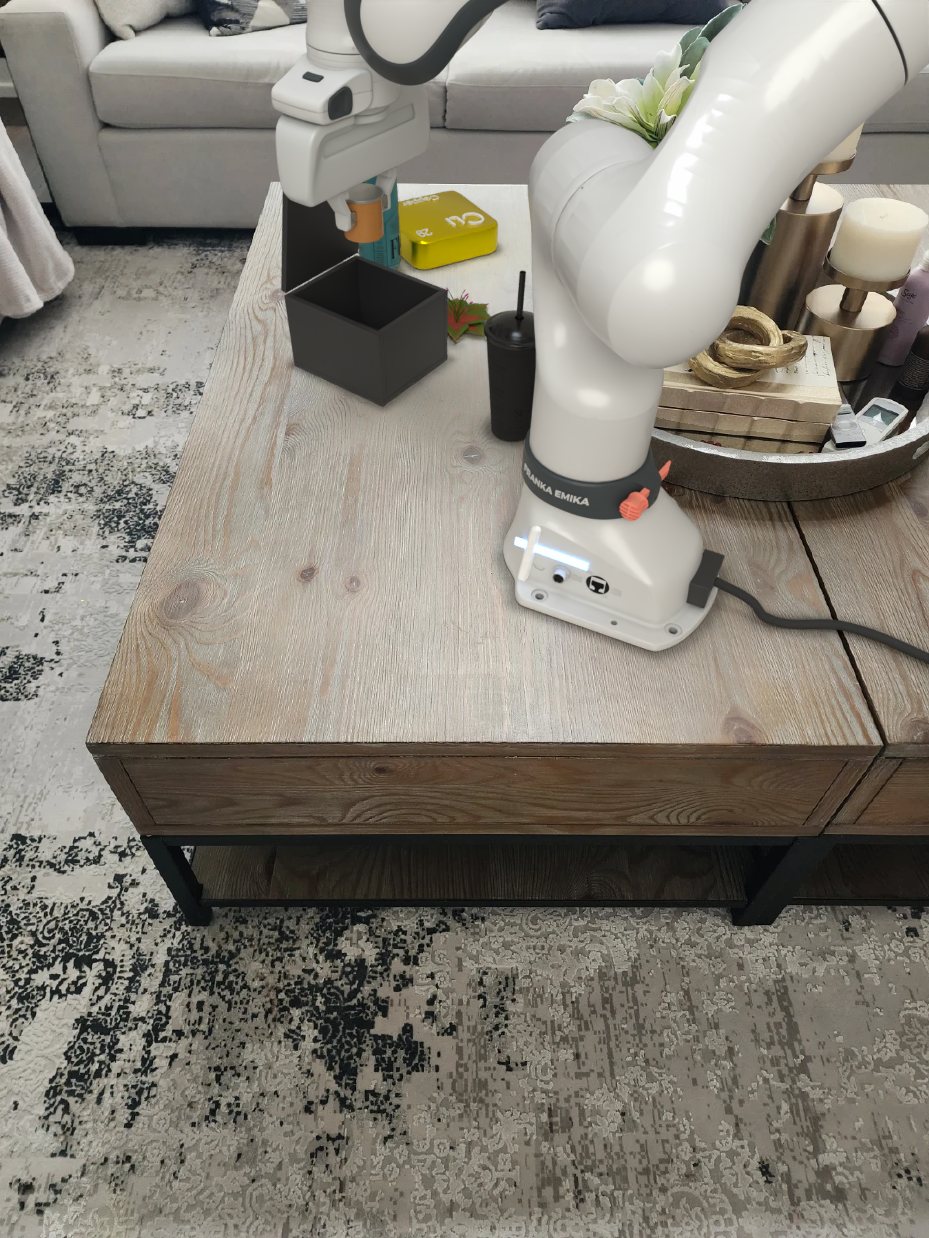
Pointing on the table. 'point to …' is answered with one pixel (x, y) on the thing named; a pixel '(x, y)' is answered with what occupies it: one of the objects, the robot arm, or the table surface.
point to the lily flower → (465, 317)
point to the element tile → (444, 230)
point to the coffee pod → (366, 213)
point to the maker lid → (310, 242)
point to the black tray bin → (368, 328)
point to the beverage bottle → (386, 235)
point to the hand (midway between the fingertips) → (363, 219)
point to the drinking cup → (511, 369)
